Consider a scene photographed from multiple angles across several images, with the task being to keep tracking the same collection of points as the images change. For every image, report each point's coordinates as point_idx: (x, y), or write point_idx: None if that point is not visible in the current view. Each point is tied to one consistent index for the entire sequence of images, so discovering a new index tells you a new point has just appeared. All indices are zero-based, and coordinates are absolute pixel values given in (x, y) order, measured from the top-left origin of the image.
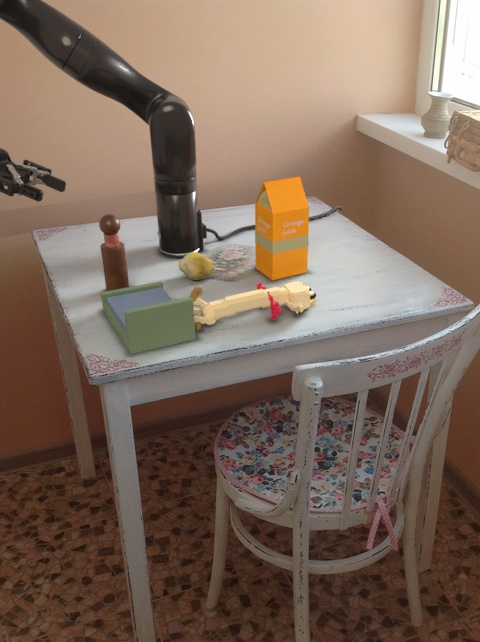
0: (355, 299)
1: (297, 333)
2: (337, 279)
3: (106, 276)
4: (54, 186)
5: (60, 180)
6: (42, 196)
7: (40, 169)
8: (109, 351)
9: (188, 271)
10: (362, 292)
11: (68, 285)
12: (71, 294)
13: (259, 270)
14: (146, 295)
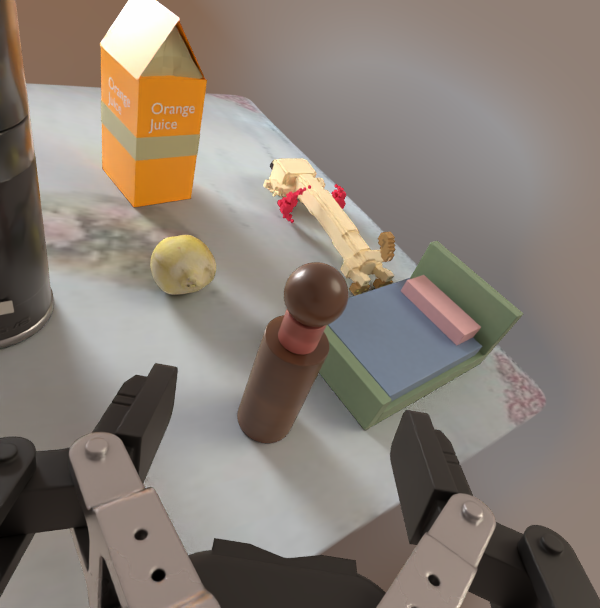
0: (248, 149)
1: (350, 205)
2: None
3: (301, 406)
4: (157, 439)
5: (165, 377)
6: (398, 430)
7: (1, 522)
8: (488, 393)
9: (213, 275)
10: (227, 140)
11: None
12: (298, 534)
13: (148, 204)
14: (356, 329)
